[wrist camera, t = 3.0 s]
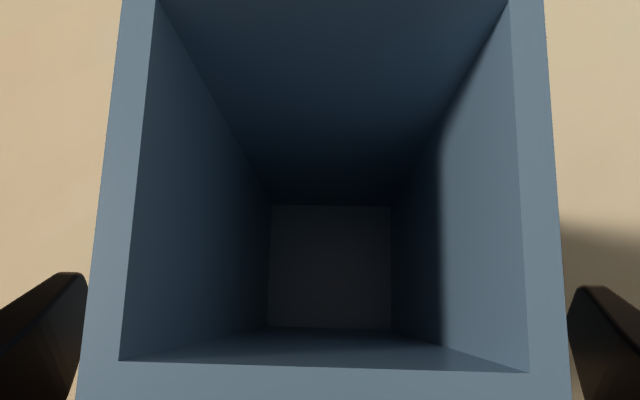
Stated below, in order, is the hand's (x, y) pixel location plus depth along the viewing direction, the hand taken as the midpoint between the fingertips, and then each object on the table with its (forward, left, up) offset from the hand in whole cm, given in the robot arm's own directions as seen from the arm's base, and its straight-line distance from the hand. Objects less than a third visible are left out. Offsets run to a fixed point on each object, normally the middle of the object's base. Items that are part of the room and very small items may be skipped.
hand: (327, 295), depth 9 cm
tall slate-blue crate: (+1, -1, -9) cm, 9 cm away
